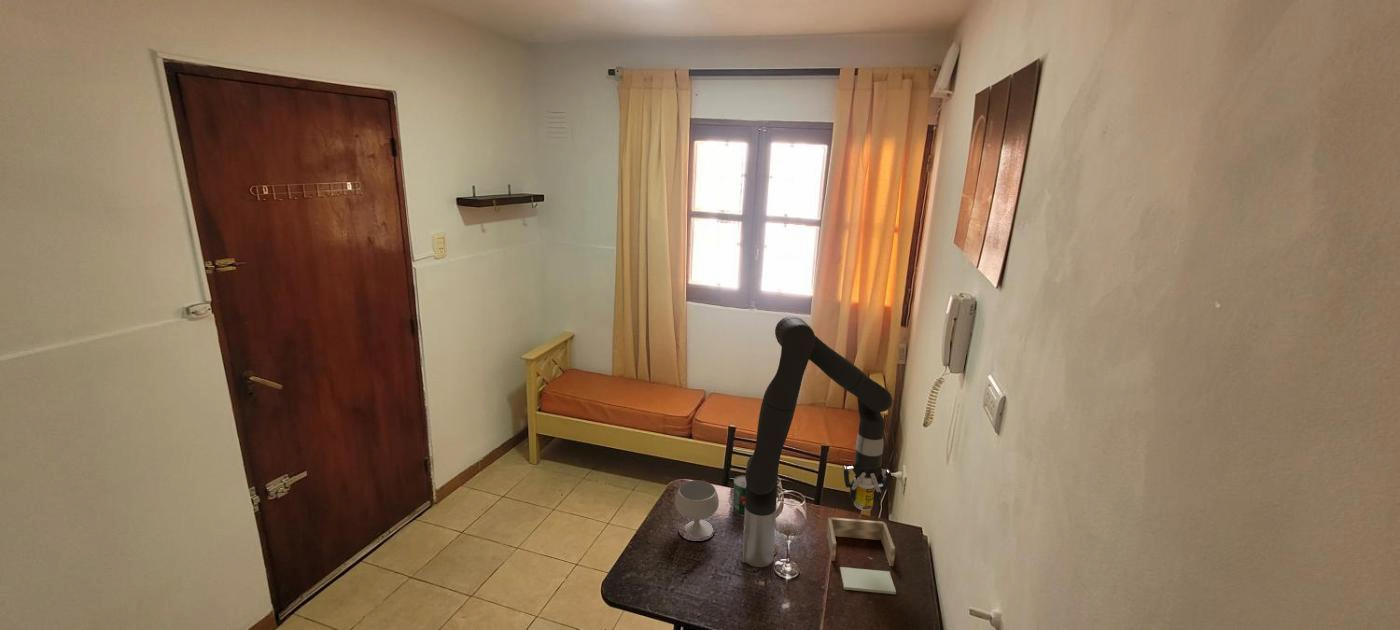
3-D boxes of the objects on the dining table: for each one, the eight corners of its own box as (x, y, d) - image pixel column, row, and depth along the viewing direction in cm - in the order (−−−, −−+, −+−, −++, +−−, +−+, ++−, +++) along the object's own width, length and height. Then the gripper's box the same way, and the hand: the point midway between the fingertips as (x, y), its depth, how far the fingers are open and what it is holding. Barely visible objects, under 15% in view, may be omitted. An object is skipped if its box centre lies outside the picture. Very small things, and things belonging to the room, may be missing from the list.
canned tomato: (740, 500, 187) (741, 472, 185) (759, 508, 183) (761, 480, 181) (728, 511, 181) (729, 482, 179) (748, 519, 177) (749, 490, 174)
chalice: (718, 545, 163) (719, 502, 160) (673, 544, 163) (673, 502, 160) (717, 518, 177) (718, 478, 174) (676, 517, 177) (676, 477, 174)
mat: (844, 589, 146) (844, 586, 146) (839, 569, 154) (840, 566, 154) (895, 594, 144) (896, 591, 144) (889, 573, 152) (889, 571, 152)
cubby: (831, 560, 157) (832, 543, 156) (826, 533, 170) (827, 517, 169) (893, 566, 155) (895, 548, 154) (883, 538, 168) (885, 521, 167)
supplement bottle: (864, 513, 154) (867, 482, 151) (849, 504, 158) (852, 473, 156) (876, 507, 157) (880, 477, 155) (861, 498, 161) (864, 468, 159)
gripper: (846, 453, 150) (841, 505, 154) (897, 457, 149) (891, 509, 153) (842, 441, 158) (837, 491, 162) (891, 444, 156) (885, 495, 160)
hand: (863, 499), depth 157 cm, fingers closed on supplement bottle, 5 cm apart
